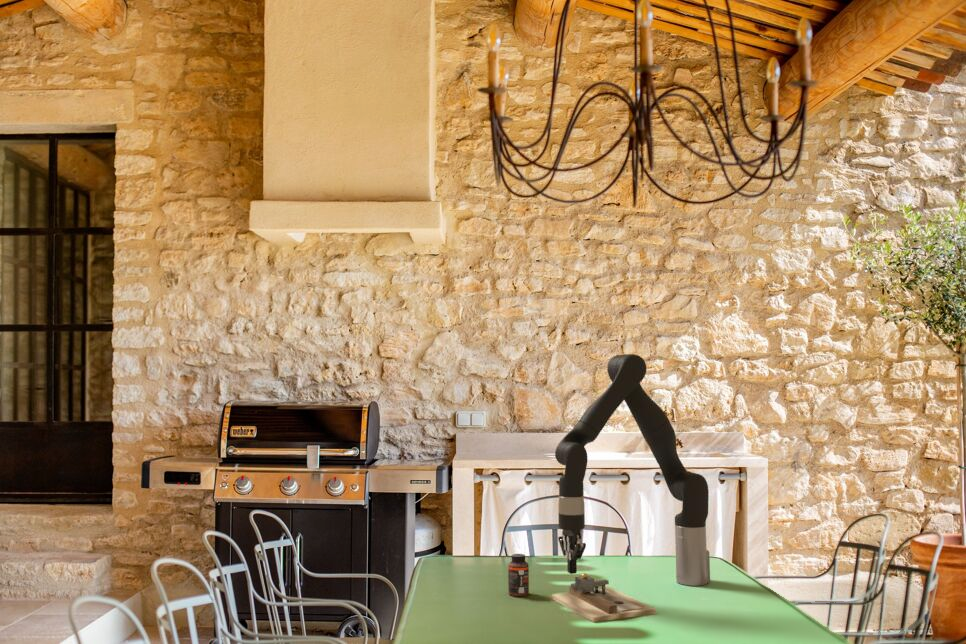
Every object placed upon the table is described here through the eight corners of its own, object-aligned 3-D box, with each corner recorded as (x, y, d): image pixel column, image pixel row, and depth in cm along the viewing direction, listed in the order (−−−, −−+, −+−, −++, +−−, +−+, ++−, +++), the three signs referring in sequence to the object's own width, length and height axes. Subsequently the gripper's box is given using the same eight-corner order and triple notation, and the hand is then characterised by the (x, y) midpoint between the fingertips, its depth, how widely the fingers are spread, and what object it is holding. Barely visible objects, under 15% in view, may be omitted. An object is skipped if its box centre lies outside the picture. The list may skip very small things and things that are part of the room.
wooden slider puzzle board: (609, 591, 234) (608, 580, 234) (656, 613, 211) (655, 601, 212) (551, 598, 227) (551, 587, 227) (593, 622, 204) (593, 609, 205)
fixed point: (598, 590, 229) (598, 580, 229) (602, 592, 227) (602, 582, 227) (571, 593, 226) (570, 583, 226) (575, 595, 224) (574, 585, 224)
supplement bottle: (527, 597, 228) (526, 557, 229) (506, 596, 229) (506, 556, 230) (530, 592, 234) (529, 553, 235) (510, 591, 235) (509, 552, 236)
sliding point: (604, 592, 226) (603, 570, 226) (610, 595, 223) (610, 573, 223) (575, 595, 223) (575, 573, 223) (581, 598, 219) (581, 576, 220)
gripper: (594, 514, 225) (595, 577, 224) (572, 507, 237) (572, 566, 236) (570, 516, 222) (571, 579, 221) (549, 509, 235) (549, 569, 233)
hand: (572, 572), depth 228 cm, fingers closed
